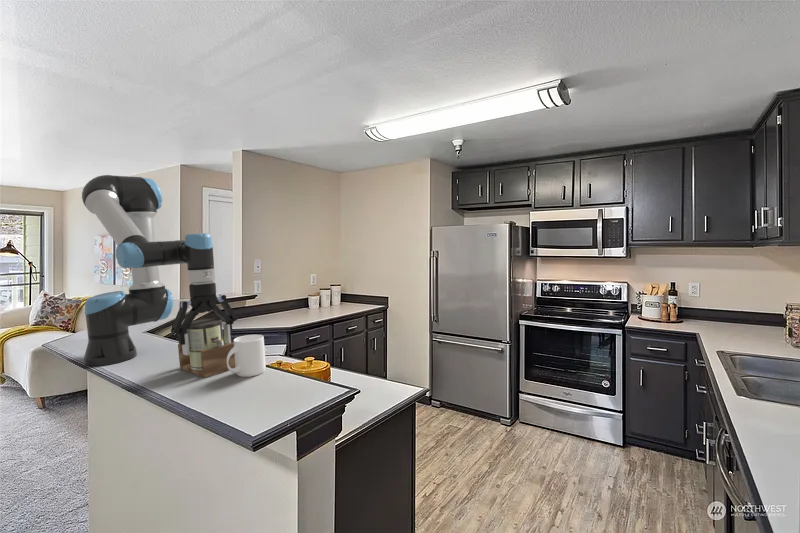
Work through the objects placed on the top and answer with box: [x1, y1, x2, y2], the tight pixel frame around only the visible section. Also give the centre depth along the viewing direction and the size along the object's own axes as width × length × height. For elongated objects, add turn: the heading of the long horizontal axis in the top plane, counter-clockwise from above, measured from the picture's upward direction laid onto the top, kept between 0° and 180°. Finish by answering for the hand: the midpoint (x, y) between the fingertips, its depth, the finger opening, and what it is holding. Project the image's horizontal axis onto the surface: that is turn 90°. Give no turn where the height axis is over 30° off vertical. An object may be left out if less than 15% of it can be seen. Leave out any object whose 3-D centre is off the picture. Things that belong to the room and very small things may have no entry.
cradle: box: [177, 340, 235, 379], centre depth 130 cm, size 16×11×10 cm
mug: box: [227, 334, 266, 378], centre depth 122 cm, size 9×12×11 cm
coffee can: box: [186, 317, 225, 370], centre depth 129 cm, size 10×10×14 cm
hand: (207, 348), depth 129 cm, fingers open, 13 cm apart
